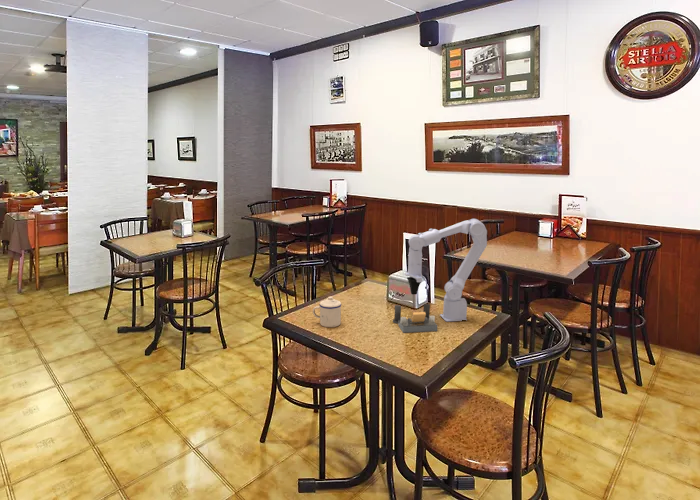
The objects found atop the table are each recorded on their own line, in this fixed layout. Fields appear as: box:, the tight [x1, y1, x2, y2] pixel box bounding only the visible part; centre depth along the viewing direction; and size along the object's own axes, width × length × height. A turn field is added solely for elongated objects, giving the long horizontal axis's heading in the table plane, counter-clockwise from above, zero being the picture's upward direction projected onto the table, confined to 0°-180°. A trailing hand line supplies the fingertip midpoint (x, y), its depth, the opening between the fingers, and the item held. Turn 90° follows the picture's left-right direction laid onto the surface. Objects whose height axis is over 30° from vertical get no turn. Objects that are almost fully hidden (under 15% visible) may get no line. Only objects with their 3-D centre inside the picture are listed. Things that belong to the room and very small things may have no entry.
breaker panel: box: [397, 315, 438, 334], centre depth 181 cm, size 14×8×5 cm, turn 98°
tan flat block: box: [410, 311, 426, 322], centre depth 180 cm, size 6×1×5 cm
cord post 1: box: [392, 304, 402, 325], centre depth 188 cm, size 4×4×7 cm
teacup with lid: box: [312, 296, 342, 328], centre depth 185 cm, size 12×9×12 cm
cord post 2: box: [422, 303, 431, 318], centre depth 190 cm, size 4×4×7 cm
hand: (413, 293), depth 192 cm, fingers closed
